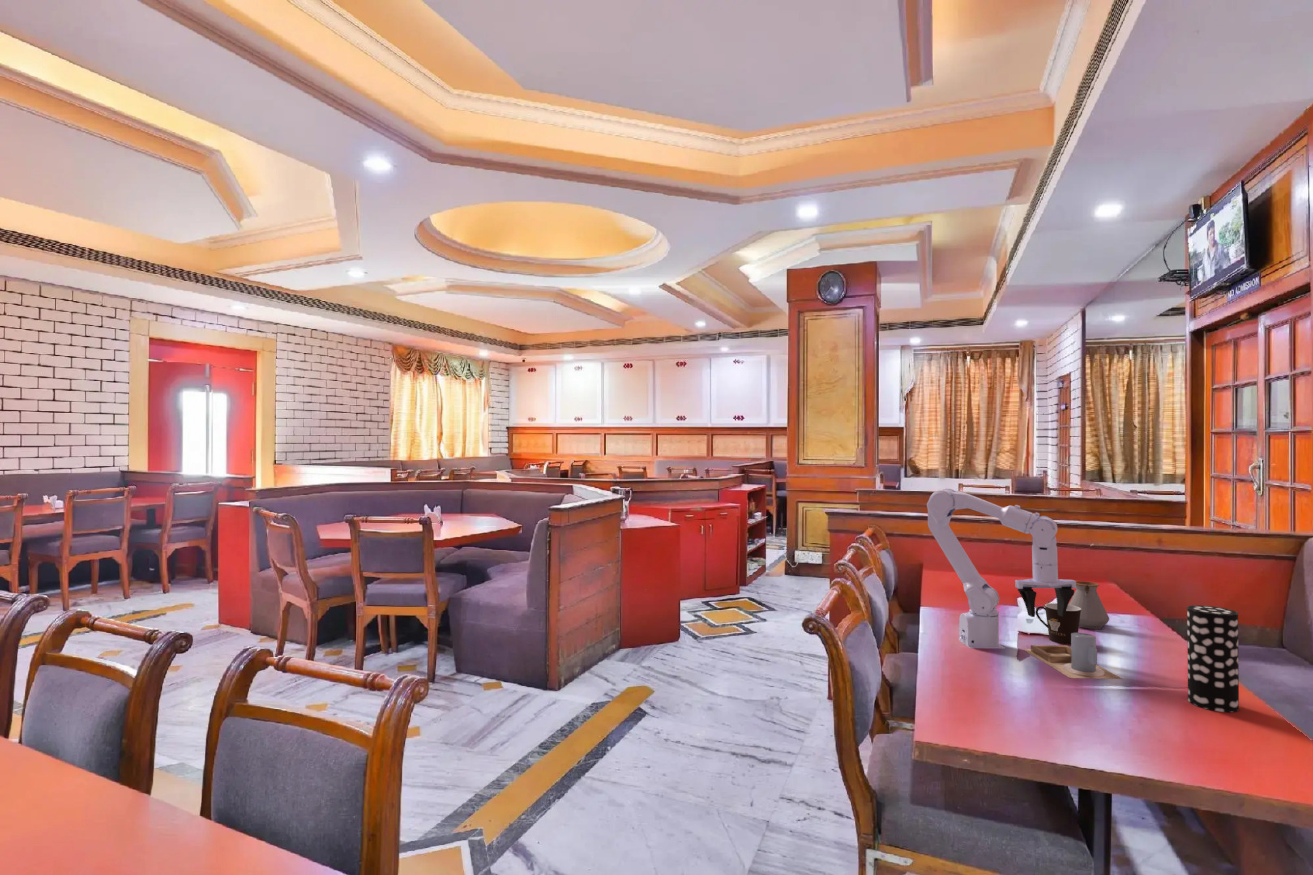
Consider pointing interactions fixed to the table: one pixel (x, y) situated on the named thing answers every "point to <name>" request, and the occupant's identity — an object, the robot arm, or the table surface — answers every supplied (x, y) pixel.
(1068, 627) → the coffee mug
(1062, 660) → the jug board
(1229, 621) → the white-spotted black cylinder
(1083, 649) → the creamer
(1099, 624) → the coffee pot
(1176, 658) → the table surface
